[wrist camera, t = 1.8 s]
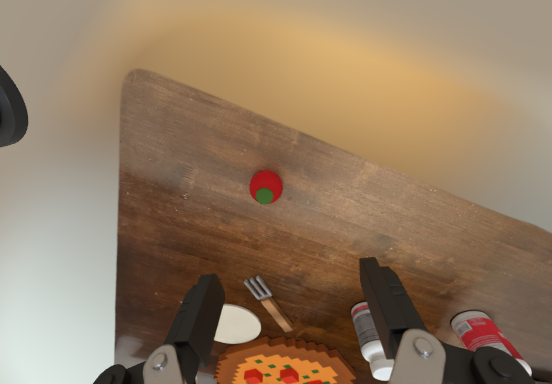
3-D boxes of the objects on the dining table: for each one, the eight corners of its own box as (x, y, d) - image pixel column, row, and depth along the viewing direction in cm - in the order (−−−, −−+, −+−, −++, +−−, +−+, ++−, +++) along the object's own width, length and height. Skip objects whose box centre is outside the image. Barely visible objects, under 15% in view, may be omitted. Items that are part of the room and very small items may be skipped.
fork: (295, 323, 43) (295, 329, 42) (282, 326, 44) (282, 332, 43) (258, 274, 37) (258, 280, 36) (244, 279, 38) (242, 285, 36)
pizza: (313, 322, 43) (315, 338, 40) (370, 389, 55) (374, 405, 52) (190, 358, 51) (185, 373, 49) (263, 409, 64) (262, 423, 61)
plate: (220, 346, 48) (219, 348, 48) (183, 313, 43) (182, 315, 43) (272, 333, 45) (272, 336, 45) (239, 296, 40) (239, 298, 39)
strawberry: (261, 198, 30) (257, 216, 26) (246, 173, 28) (239, 189, 24) (288, 186, 29) (288, 204, 25) (274, 160, 27) (272, 175, 23)
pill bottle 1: (348, 317, 41) (364, 381, 33) (353, 299, 39) (372, 364, 30) (377, 319, 41) (400, 384, 33) (384, 301, 39) (412, 366, 30)
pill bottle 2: (486, 326, 41) (548, 405, 31) (450, 331, 42) (498, 409, 32) (487, 306, 38) (556, 386, 28) (449, 313, 39) (501, 391, 30)
